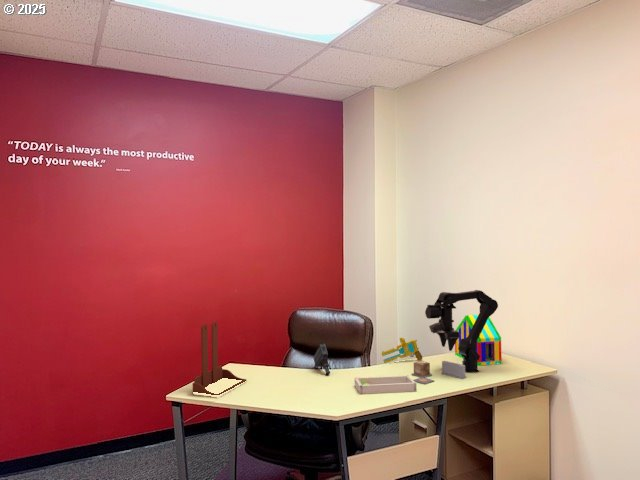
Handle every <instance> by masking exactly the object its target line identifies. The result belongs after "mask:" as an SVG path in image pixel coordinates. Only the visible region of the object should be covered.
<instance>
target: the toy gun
mask: <svg viewBox="0 0 640 480" xmlns="http://www.w3.org/2000/svg"><path fill="white" fill-rule="evenodd" d="M399 342H400V344H398V345H397V346H396V348H394V347H392V348H390V349H386V350H382V351H381V356H382V357H385V356H387V355H390V354H393V353H395V352H399V353H398V354H396V355H393V356H389V357H387V358H385V359H383V363H384V364H387V363H389V362H393V361H395V360H397V359H398V358H400V359H403V358H404V359H405V358H407V357H410V358H413V357H414V356H415V358H416V362H418V361H423V359H424V358H423V355H422V353H421V351H420V350H419V349H420V347H418V344H417V339H412V340H409V341H406V339H405V337H403V336H402V337H399Z"/></svg>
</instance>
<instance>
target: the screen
mask: <svg viewBox="0 0 640 480" xmlns="http://www.w3.org/2000/svg"><path fill="white" fill-rule="evenodd" d="M441 375H446V376H450V377H454V378H457V379H461V380H463V379H466V378H467V376H466V371H465V365H462V363H461V364H460V363H457V362H451V361H447V360H441Z"/></svg>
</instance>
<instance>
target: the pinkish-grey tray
mask: <svg viewBox="0 0 640 480" xmlns="http://www.w3.org/2000/svg"><path fill="white" fill-rule="evenodd" d="M413 380H414V379H412V377H411V376H409V375H408V374H407V375H392V376H390V375H389V376H388V375H387V376H366V377H354V387H355V388H357V389H356V390H357V392H358V393H360V394H359V395H365V394H367V395H368V394H369V395H370V394H386V393H387V394H388V393H392V394H393V393H408V392H409V393H410V392H412V393H413V392H417V390H418V389H417V388H418V387H417V382H415V381H413ZM365 383H368V384H370V385H362V384H365Z"/></svg>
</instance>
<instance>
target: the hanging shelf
mask: <svg viewBox="0 0 640 480" xmlns="http://www.w3.org/2000/svg"><path fill="white" fill-rule="evenodd" d="M208 328H209V327H208V324H207V323H206V324H205V323H204V324H202V326H201V329H200V330H201V331H200V332H201V333H200V335H201V339H200V341H201V342H200V343H201V374H200V375H197V376H195V378H194V380H193V382H192V393H193V392H198V393H206V394H211V395H220V394H222V393H224V392H226V391H228V390H230V389H232V388H234V387H235V386H237V385H239V384H241V383H243V382H245V381H246V382H247V378H241V377H238V376H236V375H235V374H233V372H232V371H231V370H228V369H225V368H223V366H220V365H219V353H218V351H219V345H218V344H219V342H218V341H219V340H218V339H219V338H218V336H219V335H218V332H219V331H218V330H219V329H218V322H217V321H215V320H213V321H212V323H211V370H209V336H208V335H209V333H208V332H209V329H208ZM222 378H228V379H236V380H242V381H241V382H239V383H237V384H235V385H233V386H232V387H230V388H228V389H226V390H224V391H223V392H221V393H219V394H214V393H211V392H209V391H207V390H206V389H205V387H207V386H208V385H209V384H212V383H215V382H217V381H218V380H220V379H222Z"/></svg>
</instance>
